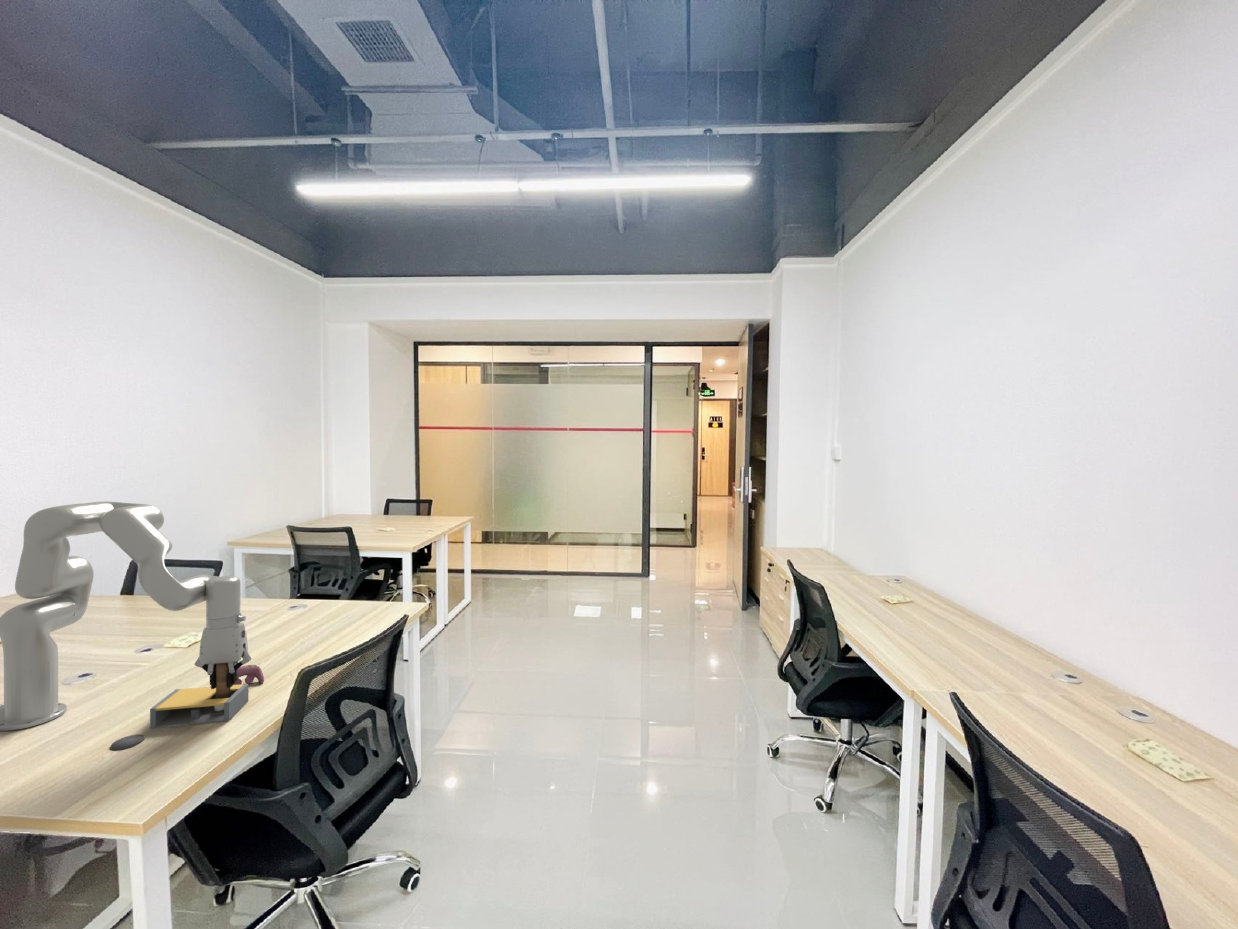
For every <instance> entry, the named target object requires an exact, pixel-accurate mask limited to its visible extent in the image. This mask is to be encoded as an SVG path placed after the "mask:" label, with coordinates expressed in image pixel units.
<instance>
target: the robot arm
mask: <svg viewBox="0 0 1238 929" xmlns="http://www.w3.org/2000/svg"><path fill="white" fill-rule="evenodd" d="M164 522H165V516H164V515H163V513H162V511H161V510H160V509H159V508H157V507H156V506H154V505H151V504H146V503H131V502H119V501H95V502H85V503H72V504H71V503H70V504H63V505H58V506H53V507H52V506H51V507H47V508H43V509H41V510H38V511H36V512H34V513H33V514H32V515H30V516H29V517H28V519H27V520H26V522H25V524H24V528H23V546H22V551H21V554H20V558H19V559H20V560H19V564H18V567H17V568H18V569H17V573H16V577H15V583H14V589H15V593H16V595H17V596H19V597H21V598H24V599H27V600H32V601H28V602H24V603H21V604H18V605H16V606H13V607H11V608H9V609H8V610H6V611H5V612H4V613H3V614H2V615H1V616H0V642H1V645H2V654H3V656H2V658H3V704H0V731H1V732H2V731H6V732H7V731H17V730H22V729H27V728H31V727H35V726H38V725H41V724H44V723H47V722H50V721H52V720H55V719H56V718H58V717H59V718H60V717H61V716H62V715H63V714H65V713H66V711H67V708H68V707H67V705H66V703H63V702H59V648H58V645H57V643H56V641H55V640H54V639H53V637H52V636H51V635H50V634H51V633H53V632H54V631H57V630H60V629H63V628H65V627H67V626H70V625H71V626H72V625H73V624H75V623H77V622H79V620H81V619H82V617H83V616H84V614H85V613H86V612H87V607H88V603H89V599H90V595H91V591H92V586H93V582H94V575H95V573H94V568H93V566H92V564H91V563H90V562H89V561H88V559H87V558H84V557H82V556H77V555H70V553H71V552H70V551H71V544H70V542H69V539H68V538H67V537H74V536H75V537H76V536H80V535H81V536H82V535H88V534H94V533H100V532H103V533H104V534H105V535H106V536H107V537H108V538H109V539H110V540H111V541H112V542H113V543H114V544H115V545H116V546H118V547H119V548H120V549H121V550H122V551H123V552H124V553H125V554H126V555H127V556H128V557H129V558H130V559H131V560H132V561H133V562H135V563H136V565H137V575H138V581H139V583H140V586H141V588H142V590H143V591H144V592H145V593H146V595H148V596H149V597H150V598H151V599H152V600H153V601H154V602H155V603H156V604H158V605H159V606H160V607H162V608H163V609H166V610H168V611H172V612H177V611H178V612H179V611H182V610H185V609H188V608H190V607H192V606H195V605H198V604H200V603H204V602H205V606H206V607H205V610H206V612H205V615H206V616H205V617H206V618H205V619H206V620H205V627H204V628H203V629H202V630H203V631H202V634H201V638H200V644H199V655H198V657H197V658H196V661H195V663H194V666H196V667H198V668H200V669H203V671H205V672H206V674H207V675H208V676H209V685H210V687H211V689H214V688H216V664H218V663H228V666H229V673H228V674H227V687H228V688H230V687H232V686H233V685H234V684H235V683H236V681H237V669H238V668H240V667H242V666H245V665H246V664H247V663H249V662H250V661H251V660H252V657H251V655H250V654H249V652H248V651H249V648H248V647H249V646H248V644H249V643H248V636H247V630H246V626H245V622H246V619H247V616H245V615H244V616H243V615H242V613H241V579H240V578H239V577H238V576H235V575H223V576H217V575H210V574H197V575H195V576H191V577H188V578H185V579H181V580H177V578H175V577H174V576H173V575H172V574H171V573H170V572H169V570H168V569H167V567H166V565H165V559H166V556H167V555H168V554H169V553H170V552H171V550H172V549H173V543H172V542H171V541H170V540H169V539H168V538H167V537H166V536H165V535H163V533H161V531H159V530H160V529H161V528H162V527H163V525H164ZM241 659H242V660H241Z"/></svg>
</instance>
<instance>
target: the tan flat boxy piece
mask: <svg viewBox="0 0 1238 929" xmlns="http://www.w3.org/2000/svg"><path fill="white" fill-rule="evenodd" d="M248 702H249V684H246V683H244V684H241V685H233V686H232V687H230V698H221V699H216V688H214V689H211V686H203V687H202V686H201V687H192V688H179V689H178V688H176V689H174V690H173V691H171V693H169V694H168V695H166V696H165V697H164V698H163V699H161V700H160V701H159V702H157V703H156V704H155V705H154V706H152V707H150V708H149V729H157V728H159V729H160V728H168V727H169V728H171V727H180V726H190V725H200V724H201V725H202V724H212V723H222V722H230V721H232V719H233V718H234V717H235V715H237V714H238V713H239V712H240V711H241V710H242V709H243V707H245V705H246V704H247V703H248ZM217 705H224V710H223V711H215V706H217Z"/></svg>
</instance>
